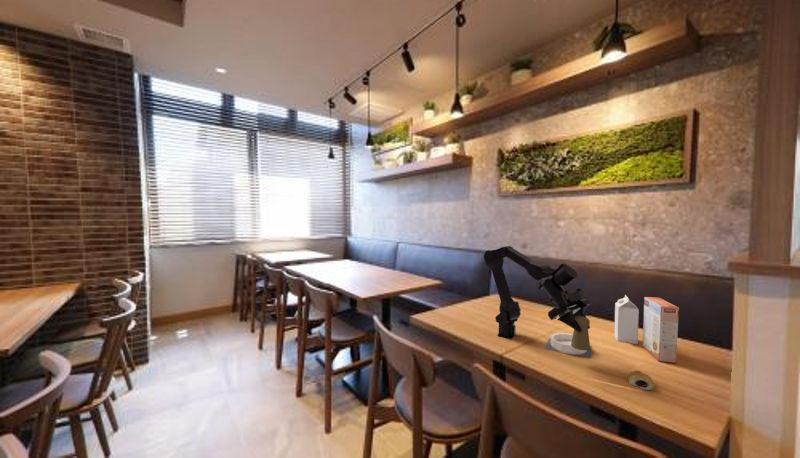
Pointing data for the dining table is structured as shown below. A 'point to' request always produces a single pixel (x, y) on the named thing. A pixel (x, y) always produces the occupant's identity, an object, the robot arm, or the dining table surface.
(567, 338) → the bowl
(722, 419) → the dining table surface
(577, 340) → the pepper mill
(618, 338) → the milk carton
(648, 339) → the cracker box
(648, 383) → the pastry
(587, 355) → the mat
